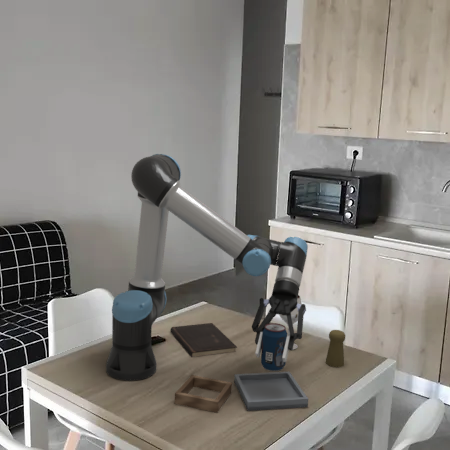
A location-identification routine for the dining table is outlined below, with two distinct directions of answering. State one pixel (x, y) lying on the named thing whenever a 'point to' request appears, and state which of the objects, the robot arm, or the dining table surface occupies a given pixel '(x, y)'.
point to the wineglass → (294, 318)
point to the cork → (336, 349)
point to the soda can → (273, 346)
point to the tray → (270, 391)
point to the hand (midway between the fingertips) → (270, 357)
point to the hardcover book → (203, 339)
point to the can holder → (203, 402)
